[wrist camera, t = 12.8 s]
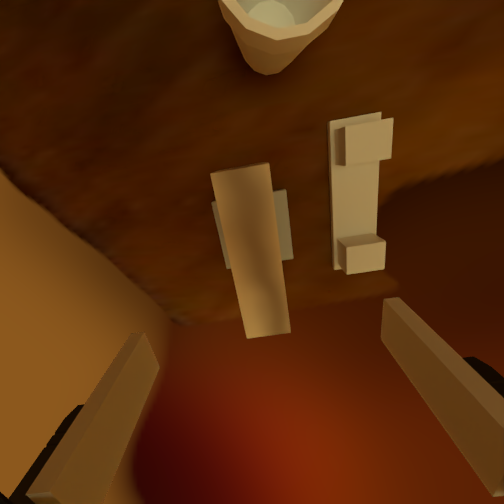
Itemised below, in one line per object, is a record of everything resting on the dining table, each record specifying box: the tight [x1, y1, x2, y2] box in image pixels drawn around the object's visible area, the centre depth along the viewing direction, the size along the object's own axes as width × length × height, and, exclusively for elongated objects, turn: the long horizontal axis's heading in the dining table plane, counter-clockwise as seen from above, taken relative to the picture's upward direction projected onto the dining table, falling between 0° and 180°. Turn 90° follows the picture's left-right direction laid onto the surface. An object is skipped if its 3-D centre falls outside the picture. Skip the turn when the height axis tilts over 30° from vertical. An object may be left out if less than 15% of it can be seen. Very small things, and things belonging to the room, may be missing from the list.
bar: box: [210, 162, 291, 338], centre depth 25 cm, size 5×18×5 cm, turn 9°
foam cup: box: [218, 0, 343, 75], centre depth 19 cm, size 10×9×13 cm
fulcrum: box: [211, 189, 293, 269], centre depth 30 cm, size 10×10×7 cm
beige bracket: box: [327, 112, 393, 275], centre depth 30 cm, size 6×20×4 cm, turn 9°
